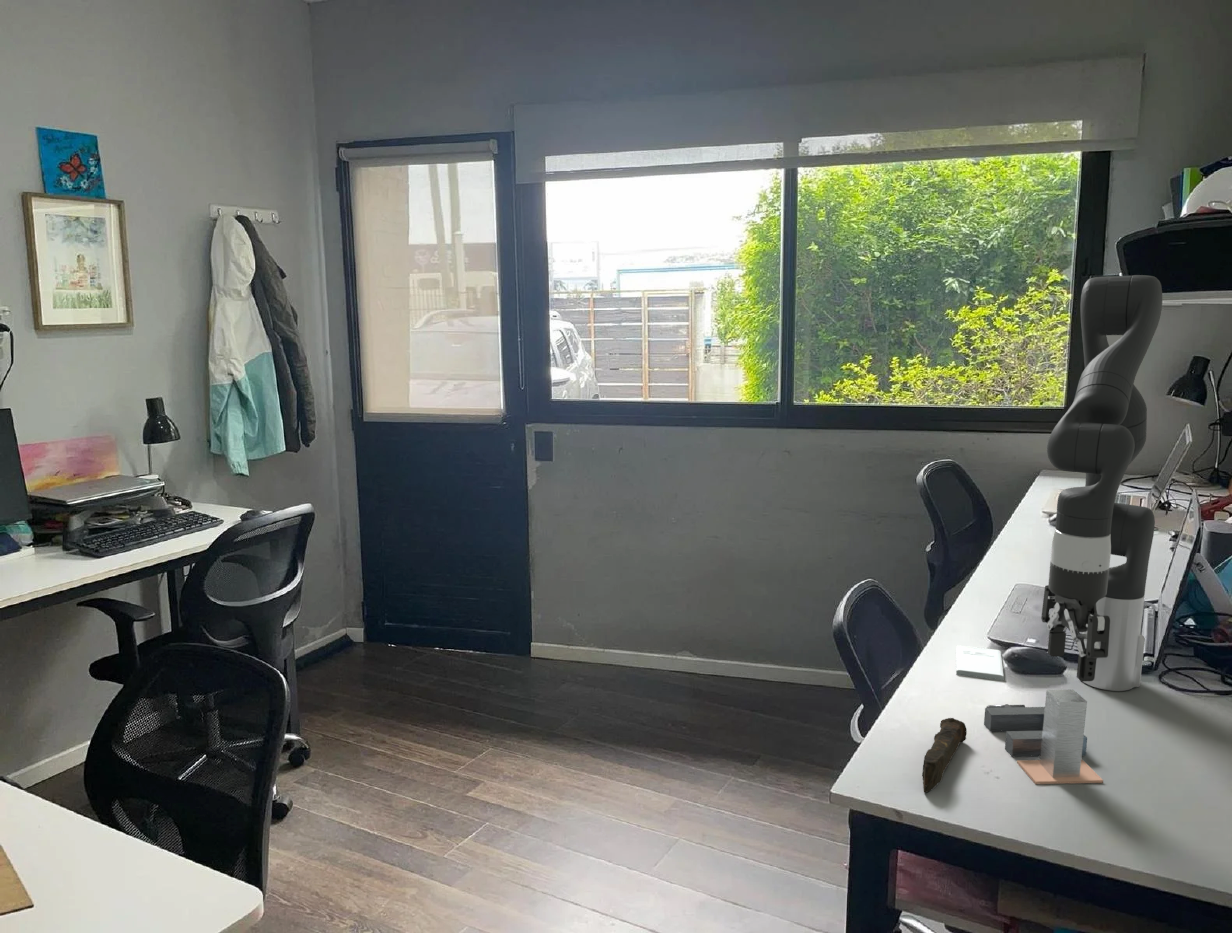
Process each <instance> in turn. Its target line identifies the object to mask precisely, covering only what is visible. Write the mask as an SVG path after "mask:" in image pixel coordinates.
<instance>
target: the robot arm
mask: <svg viewBox="0 0 1232 933" xmlns="http://www.w3.org/2000/svg"><path fill="white" fill-rule="evenodd" d="M1079 308H1080V309H1079V310H1080V311H1079V312H1080V324H1081V336H1082V338H1081V339H1082V347H1083V362H1084V370H1083V371H1082V373H1081V375H1080V377H1079V380H1078V384H1077V388H1076V391H1075V395H1074V399H1073V402H1072V404H1071V405H1070V406H1069V408H1068V410H1067V411H1066V412H1065V414H1064V415H1062V417H1061V418H1060V420H1059V421H1058V422H1057V424H1056V425H1055V426H1054V427H1053V430H1052V431H1051V433H1050V435H1049V438H1048V441H1047V446H1046V449H1047V450H1046V454H1047V458H1048V460H1049V461H1050V462H1049V463H1051V465H1052V466H1053V467H1054V468H1056V469H1058V470H1060V471H1063V472H1071V473H1072V472H1073V473H1080V474H1081V473H1082V474H1085V486H1076V487H1068V488H1065V489H1063V490H1062V491H1060V492H1059V494H1058V499H1057V503H1056V504H1057V506H1056V515H1055V517H1056V518H1055V528H1054V532H1053V537H1052V543H1051V549H1050V550H1051V552H1050V562H1049V574H1048V585H1045V587H1044V594H1043V599H1042V609H1041V622H1042V623H1046V630H1047V631H1048V632H1049V633H1048V641H1047V654H1048V655H1049V656H1051V657H1063V656H1064V655H1065V652H1066V651H1065V650H1066V639H1067V638H1066V636H1067V633H1066V632H1065V631H1067V629H1068V630H1069V632H1070V636H1071V639H1072V640H1073V641H1074V642H1075V643H1076V646H1077V650H1078V653H1079V654H1078V658H1077V666H1076V668H1077V670H1076V678H1077V680H1078V681H1080V682H1083V683H1084V684H1086V685H1088V686H1091V687H1094V688H1096V689H1100V690H1103V691H1104V690H1105V691H1112V692H1124V691H1129V690H1132V689H1134V688H1140V686H1141V678H1142V677H1141V676H1142V667H1143V659H1144V652H1145V642H1146V638H1145V636H1144V635H1142V633H1141V632H1142V631H1141V630H1142V621H1143V612H1144V602H1145V593H1146V587H1147V586H1146V585H1147V578H1148V570H1149V561H1150V555H1151V550H1152V545H1153V540H1154V534H1155V527H1156V526H1155V522H1156V521H1155V520H1156V518H1155V514H1154V512H1153V510H1152V509H1151V508H1149V507H1146V506H1141V505H1133V504H1127V503H1119V502H1115V501H1116V496H1117V493H1118V492H1119V488H1120V485H1121V482H1122V481H1123V478H1124V476H1125V475H1126V472H1127V470H1128V467H1129V466H1130V464H1131V463H1133V462H1134V460H1135V459H1136V458H1137V457H1138V455H1139V454H1140V453H1141V451H1142V450H1143V449H1144V447H1145V445H1146V442H1147V425H1148V424H1147V423H1148V422H1147V421H1148V418H1147V415H1148V410H1147V409H1148V407H1147V403H1146V401H1145V399H1144V397H1143V395H1142V394H1141V392H1140V391H1139V390H1138V388H1137V386H1136V385H1135V384H1134V383H1135V380H1136V377H1137V373H1138V372H1139V369H1140V367H1141V365H1142V364H1143V363H1142V362H1143V360H1144V358H1145V356H1146V354H1147V352H1148V350H1149V348H1150V345H1151V342H1152V341H1153V339H1154V336H1155V334H1156V331H1157V328H1158V326H1159V324H1160V319H1161V316H1162V309H1163V290H1162V283H1161V281H1160V280H1159V279H1158V278H1157V277H1155V276H1153V275H1145V274H1144V275H1143V274H1141V275H1140V274H1134V275H1115V276H1109V275H1108V276H1095V277H1091V278H1088V279H1087V280H1086V281H1085V283H1084V284H1083V287H1082V289H1081V295H1080V307H1079ZM1107 336H1120V337H1119V338H1118V339H1117V340H1116V341H1114V342H1113V343H1111V345H1109V341H1108V337H1107ZM1111 555H1113V556H1119V557H1125V558H1126V561H1125V563H1122V564H1120V565H1117V566H1111ZM1110 566H1111V567H1110ZM1051 609H1052V610H1051ZM1050 610H1051V612H1050Z"/></svg>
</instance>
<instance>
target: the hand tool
mask: <svg viewBox="0 0 1232 933" xmlns="http://www.w3.org/2000/svg"><path fill="white" fill-rule="evenodd" d="M966 726H967V725H966V723H964V722H963V721H962V720H959V719H955V718H954V717H948V718H944V719H941V721H940V723H939V728H940V730H939V732H937V733H935V734H934V737H933V741H934V742H933V743H932V745H931V748H930V749H928V750H927V751H926V753H925V755H924V758H923V764H922V771H921V772H922V773H921V777H922V785H923V792H924V794H926V793H929V792H931V791H932V790H934V789H935V788H936V787H937V786H938V785H939V784H940V783H941V782H942V780H943V775H944V772H945V770H946V769H947V767H948V765H949V764H950V763H951V760H952V758H953V756H954V754H955V753H956V752H957V751H958V747H959V744H961V743H963V742H965V741H966V740H967V734H968V731H967V727H966Z"/></svg>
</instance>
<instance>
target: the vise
mask: <svg viewBox="0 0 1232 933" xmlns="http://www.w3.org/2000/svg"><path fill="white" fill-rule="evenodd" d="M1044 712H1045V706H1025V704H1008V703H1007V704H996V705H995V704H991V705H990V704H988V705H986V707H984V718H983V726H984V727H985V728H986V729H987V730H988V732H990V733H1001V732H1002V733H1005V743H1004V744H1005V745H1004V750H1005V751H1006V752H1007V753H1008V755H1010V756H1011V757H1012V758H1022V757H1023V758H1026V757H1027V758H1028V757H1034V758H1035V757H1040V755H1041V745H1042V734H1043V723H1044ZM1087 743H1088V736H1086V735H1085V734H1084V738H1083V747H1082V756H1086V754H1087Z"/></svg>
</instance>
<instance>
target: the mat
mask: <svg viewBox="0 0 1232 933" xmlns="http://www.w3.org/2000/svg"><path fill="white" fill-rule="evenodd" d="M1016 764H1017V765H1018V766H1019V768H1020V769H1022V771H1023V772H1024V773H1025V774H1026V775H1027V776H1028V777H1029V778H1030V780H1031V781H1032V782H1033V783H1034V784H1035V785H1049V784H1050V785H1052V784H1053V785H1056V784H1057V785H1058V784H1059V785H1061V784H1102V783H1103V784H1104V779H1103V778H1102V777H1101V776H1100V775H1098V774H1097V772H1096V771H1094V769H1093V768H1092V767H1090V766H1089V765H1088V764H1087V762H1086V761H1084V760H1083V759H1082V758H1081V767H1080V777H1062V778H1052V776H1051V775H1050V774H1049V773H1048V772H1047V771H1046V770H1045V769H1044V768H1043V767H1042V766H1041V764H1040V759H1028V760H1027V759H1025V760H1022V759H1020V760H1016Z"/></svg>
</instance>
